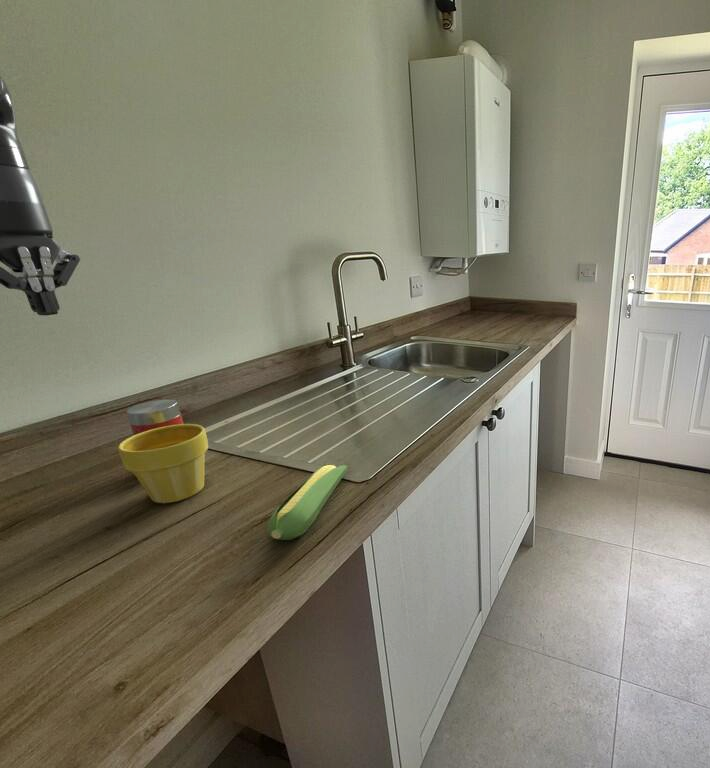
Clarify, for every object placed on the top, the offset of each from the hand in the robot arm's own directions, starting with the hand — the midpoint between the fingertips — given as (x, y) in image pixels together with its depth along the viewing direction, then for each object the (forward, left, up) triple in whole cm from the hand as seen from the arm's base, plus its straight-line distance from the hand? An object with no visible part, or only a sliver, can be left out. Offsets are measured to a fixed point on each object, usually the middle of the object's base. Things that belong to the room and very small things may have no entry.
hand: (47, 314), depth 67 cm
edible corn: (+20, -45, -27) cm, 56 cm away
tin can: (+8, -13, -27) cm, 31 cm away
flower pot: (+7, -24, -27) cm, 37 cm away
